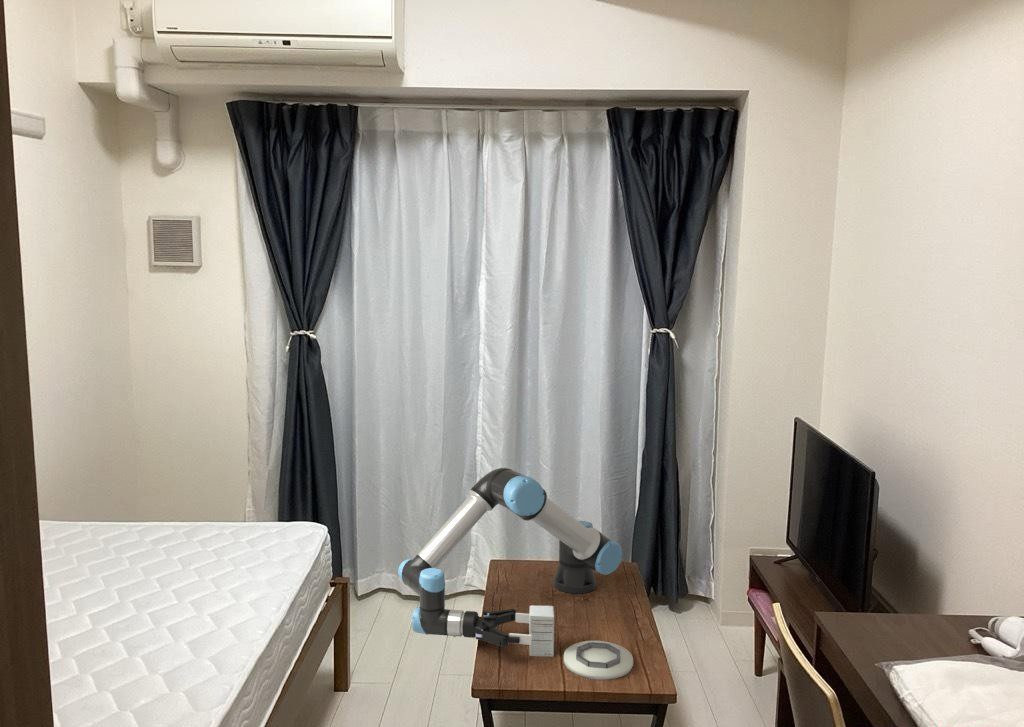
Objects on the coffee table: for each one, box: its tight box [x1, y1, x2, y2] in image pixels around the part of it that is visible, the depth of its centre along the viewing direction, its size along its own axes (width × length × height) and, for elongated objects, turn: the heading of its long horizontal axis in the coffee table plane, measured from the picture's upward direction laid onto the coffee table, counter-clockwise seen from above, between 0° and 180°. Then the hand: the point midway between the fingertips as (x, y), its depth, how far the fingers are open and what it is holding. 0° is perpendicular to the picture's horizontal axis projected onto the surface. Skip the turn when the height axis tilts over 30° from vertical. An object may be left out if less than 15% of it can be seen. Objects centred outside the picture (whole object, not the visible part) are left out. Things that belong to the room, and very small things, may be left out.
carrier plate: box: [563, 640, 634, 681], centre depth 231 cm, size 20×20×2 cm
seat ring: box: [576, 642, 620, 668], centre depth 231 cm, size 13×13×1 cm
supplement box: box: [528, 605, 555, 658], centre depth 237 cm, size 7×7×13 cm
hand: (534, 629), depth 236 cm, fingers open, 13 cm apart
